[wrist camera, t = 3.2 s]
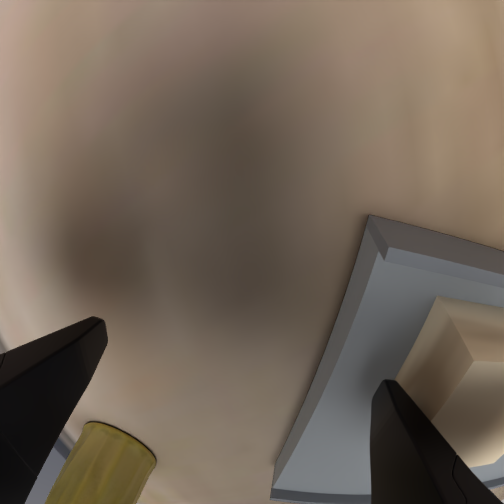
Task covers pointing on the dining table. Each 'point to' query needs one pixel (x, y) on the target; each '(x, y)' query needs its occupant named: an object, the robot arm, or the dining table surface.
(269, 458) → the dining table surface
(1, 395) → the robot arm
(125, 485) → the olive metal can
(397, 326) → the box
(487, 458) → the beech block
